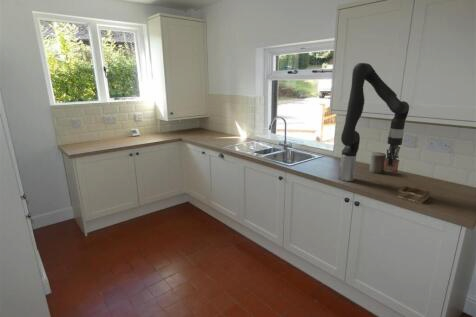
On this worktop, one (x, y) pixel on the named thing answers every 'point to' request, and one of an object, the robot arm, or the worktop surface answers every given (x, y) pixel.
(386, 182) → the worktop surface
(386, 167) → the lighter
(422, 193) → the walnut holder
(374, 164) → the pillar candle
